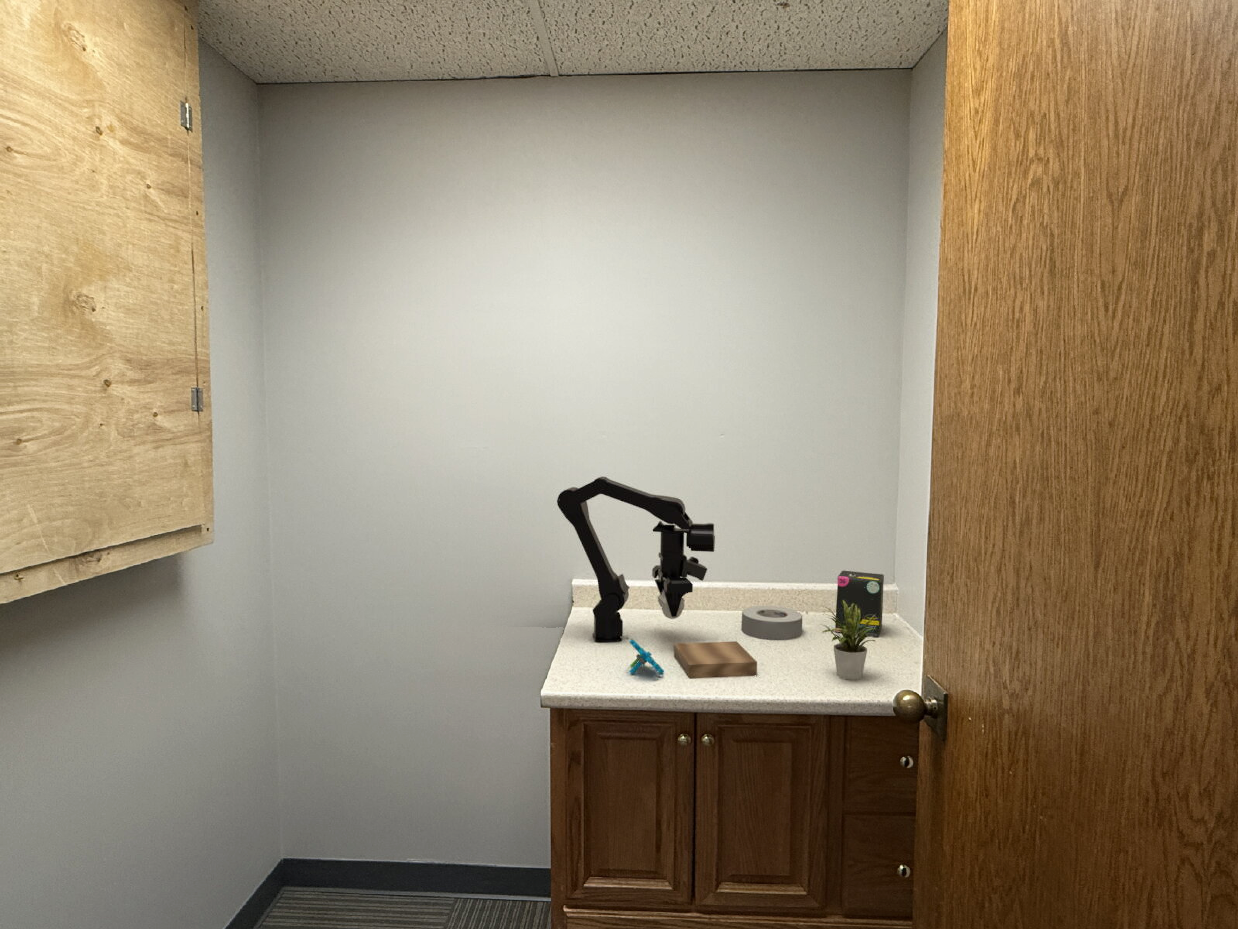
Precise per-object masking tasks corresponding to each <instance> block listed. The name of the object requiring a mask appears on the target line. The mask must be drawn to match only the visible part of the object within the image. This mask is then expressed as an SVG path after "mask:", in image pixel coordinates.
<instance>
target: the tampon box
mask: <svg viewBox="0 0 1238 929" xmlns="http://www.w3.org/2000/svg"><path fill="white" fill-rule="evenodd" d="M884 581H885V574H881V573H871V572H862V571H854V570H853V571H852V570H842V571H841V572H840V573H839V574H838V576H837V586H836V587H837V591H836V602H835V603H836V604H835V605H836V607H835V616H836V617H837V619H838V620H839V622H840V623H841V624H842V626H846V623H845V615H844V604H843V601H845V603H846V604H847V606H848V610H849V609H850V606H851V605H852V604H853V603H854V605H853V610H854V608H855V605H857V604H858V605H857V613H858V609H860V614H861V617H860V622H859V627H858V631H857V634H859V632H860V631H861V629H862V628H863V626H864V625H865V624H866V623H867V622H868V621H869V620H870V619H871V618H872V617H873V616H874V615H875V614H876V615H875V616H874V617H873V618H872V619H871V620H872V621H871V620H870V621H871V622H870V623H869V624H868V625H867V627H866V628H865V629H864V631H865V630H867V629H870V628H873V629H871V630H869V631H867V632H865V633H864V634H866V635H868V637H870V636H873V637H872V638H879V635H880V633H881V631H880V630H882V628H883V611H884V610H883V606H884ZM853 610H852V613H853ZM876 618H877V619H876ZM873 619H874V620H873ZM835 621H836V620H835ZM853 621H854V619H853ZM836 622H837V621H836ZM834 623H835V622H834ZM837 623H838V622H837ZM838 624H839V623H838ZM834 625H835V627H834V629H839V628H838V626H837V625H836V623H835V624H834ZM839 626H840V625H839ZM840 628H841V627H840ZM864 631H863V632H864ZM836 632H837V633H838V632H840V631H836ZM839 634H841V632H840V633H839ZM861 634H862V633H861ZM864 634H863V635H864Z"/></svg>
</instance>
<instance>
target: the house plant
mask: <svg viewBox="0 0 1238 929" xmlns="http://www.w3.org/2000/svg"><path fill="white" fill-rule="evenodd" d="M843 604H844V615H845V623H846V626H842V624H841V623H840V622H839V620H838V619H837V617H836V613H834V612H833V611H832V610H831V609H830V608H829V607H827V606H824V605H821V604H819V606H820V607H824V608H826V609H827V610H826V611H828V612H829V613H830V614H832V615H829V614H828V616H829V617H830V619H831V620H832V621H833V622H834V623H836V625H837V626H838V628H839V629H835V628H832V629H831V628H830V627H828V626H827V625H825V624H822V623H820V624H819V625H822V626H824V627H825V628H827V629H824V630H823V631H822V632H821V634H823V633H826V632H827V633H828V632H830V635H833V637H832V639H831V642H833V641H836V640H838V641H839V642H838V643H835V644H834V645H833V653H834V661H835V669H836V675H838V676H839V678H841V679H843V678H844V680H847V679H848V680H847V681H858V680H861V679H862V678H863V673H864V668H865V664H866V658H867V654H868V648H867V647H866V646H864V644H866V643H868V642H870V641H871V642H876V640H875V639H869V640H865V639H866V638H868V637H869V636H868V635H866V634H864V633H865V632H867V631H869V630H871V629H873V628H870V629H867V630H865V631H864V629H865V628H866V627H867V625H868V624H869V623H870V622H871V621H872V620H871V619H872V618H873V617H874V616H875V615H876V614H875V615H874V616H873V617H872V618H871V619H870V620H871V621H870V620H869V621H868V622H867V623H866V624H865V625H864V626H863V628H862V629H861V631H860V632H859V634H858V635H856V634H857V631H858V627H859V622H860V617H861V614H860V609H858V613H857V605H858V604H857V605H855V608H854V610H853V605H854V603H853V604H852V605H851V606H850V609H849V610H848V606H847V604H846V603H845V601H843ZM852 610H853V613H852ZM821 615H823V616H824V615H825V616H827V614H825V613H822V614H821ZM853 619H854V621H853ZM876 619H877V618H876ZM873 620H874V619H873ZM836 621H837V622H838V623H839V624H838V623H837V622H836ZM839 625H840V626H839ZM840 627H841V628H840ZM836 631H840V632H841V633H838V632H836ZM863 631H864V632H863ZM835 633H836V634H835ZM861 633H862V634H861ZM840 634H841V635H840ZM863 634H864V635H863ZM864 640H865V641H864ZM838 676H837V677H838Z"/></svg>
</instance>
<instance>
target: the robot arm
mask: <svg viewBox="0 0 1238 929" xmlns="http://www.w3.org/2000/svg"><path fill="white" fill-rule="evenodd" d="M599 495H603V496H607V497H609V498H611V499H614V500H617V501H620V502H622V503H626V504H629V505H631V506H634V507H637V508H639V509H641V510H642V509H643V510H645V511H647V512H648V513H650V515H652V516H653V517H655V518H657V519H659V520H660V521H659V522H658V523H657V524H656V525H655V526H654V527H653V528H652V532H653V533H654V532H655V533H660V546H659V547H660V552H658V558H659V560H660V561H659V564H658V565H654V567H653V568H652V572H651V576H652V577H653V579H654V582H655V585H656V588H657V589H658V592H659V595H660V594H661V595H662V591H663V592H664V595H665V598H666V601H667V604H668V607H669V610H670V613H671V616H672V617H676V616H677V612H678V609H679V605H680V602H681V599H682V598H683V597H684V596H685V595H686V594H690V593H693V591H694V589H693V586H694V585H693V584H694V583H692V582H691V580H689V579H688V576H690V577H693V578H696V579H698V580H699V581H704V580H705V576H706V574H707V572H708V568H707V566H705V565H703V564H701V563H700V562H699V561H700V560H699V559H698V558H697V557H694V556H690V557H689V558H688V557H687V555H686V554H684V552H685V546H686V548H687V547H688V549H690V551H691V552H705V553H706V552H707V553H710V552H711V553H714V552H715V548H716V547H715V546H716V545H715V544H716V535H715V524H714V523H710V522H709V523H694V522H693V520H692V518H690V516H689V515H688V514H687V512H686V506H685V504H684V502H683V500H682V499H680V498H678V497H675V496H667V495H661V494H653V493H650V492H649V493H648V492H646V491H642V490H640V489H637V488H634V487H632V486H628V485H626V484H624V483H620V482H619V481H615V480H612V479H609V478H608V477H607V476H600V477H597V478H596V479H594V480H592V481H591V482H589V483H587V484H585V485H582V486H581V487H575V486H574V487H568V488H567V489H564V490H563V491H561V492H559V494H558V496H557V498H556V503H557V504H556V505H557V507H558V509H559V510H560V512H561V513H562V515H563V516H564V518H565V519H566V520H567V521H568V522H569V524H571V525H572V526H573V529H574V530H575V533H576V534H577V537H578V539H579V541H580V542H581V543H580V544H581V546H582V548H583V549H584V552H585V554H586V556H587V560H588V561H589V564H590V566H591V568H592V570H593V572H594V574H595V577H596V580H597V586H598V592H599V596H600V600H598V602H597V604H596V605H594V608H593V609H592V613H593V633H592V636H593V638H594V641H595V643H608V642H609V643H610V642H622V638H623V633H624V632H623V630H624V629H623V628H624V626H623V624H624V623H623V622H624V621H623V618H621V617H622V616H621V614H620V612H619V611H620V610H622V609H623V607H624V606H625V604H627V603H626V602H627V601H628V600H629V595H630V594H629V589H630V586H629V584H627V583H626V580H625V579H626V578H625V575H624V573H621V574H620V575H618V574H617V573H616V572H615V571H614V570H613V568H612V566H611V564H610V561H609V558H608V557H607V554H606V552H605V550H604V548H603V546H602V543H601V541H600V540H599V537H598V534H597V533H596V531H595V528H594V526H593V524H592V522H591V519H590V513H589V506H588V501H589V500H592V499H593V498H595V497H597V496H599ZM663 522H664V523H663ZM665 523H666V524H665ZM676 526H677V528H676ZM685 534H686V537H685ZM685 538H686V539H685ZM685 540H686V541H685ZM685 542H686V544H685Z"/></svg>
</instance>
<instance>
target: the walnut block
mask: <svg viewBox="0 0 1238 929" xmlns="http://www.w3.org/2000/svg"><path fill="white" fill-rule="evenodd" d="M673 657H674V659H675V660H676V661H677V663H678V664H679V666H680V667H681V670H683V672H684V673H685V674H686V676H687V677H688V679H709V678H710V679H711V678H712V679H713V678H735V677H736V678H737V677H757V676H758V661H757V660H755V658H754V657H753V656H752V655H751V654H750V653H749V652H748V651H747V650H746V649H745V648H744V647H743V646H742V645H741V644H740V643H739V642H738V641H735V640H733V641H731V640H730V641H711V642H709V641H708V642H686V643H685V642H684V643H683V642H682V643H674V644H673ZM755 675H756V676H755Z"/></svg>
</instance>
